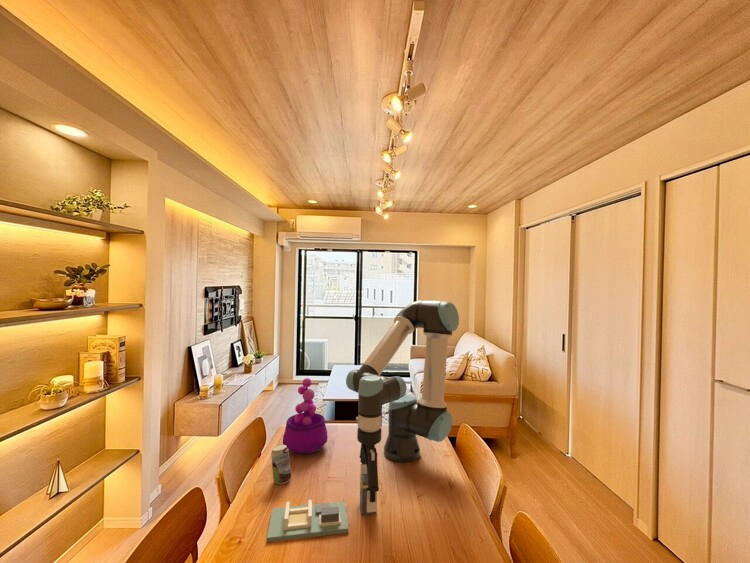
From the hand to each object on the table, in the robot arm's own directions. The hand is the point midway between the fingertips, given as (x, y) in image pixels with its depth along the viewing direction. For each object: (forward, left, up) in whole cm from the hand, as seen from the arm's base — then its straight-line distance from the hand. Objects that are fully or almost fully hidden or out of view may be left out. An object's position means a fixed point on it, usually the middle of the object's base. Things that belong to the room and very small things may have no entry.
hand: (367, 497), depth 102 cm
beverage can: (+28, -20, -4) cm, 35 cm away
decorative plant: (+20, -43, -4) cm, 48 cm away
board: (+18, +2, -4) cm, 18 cm away
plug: (0, 0, -4) cm, 4 cm away
